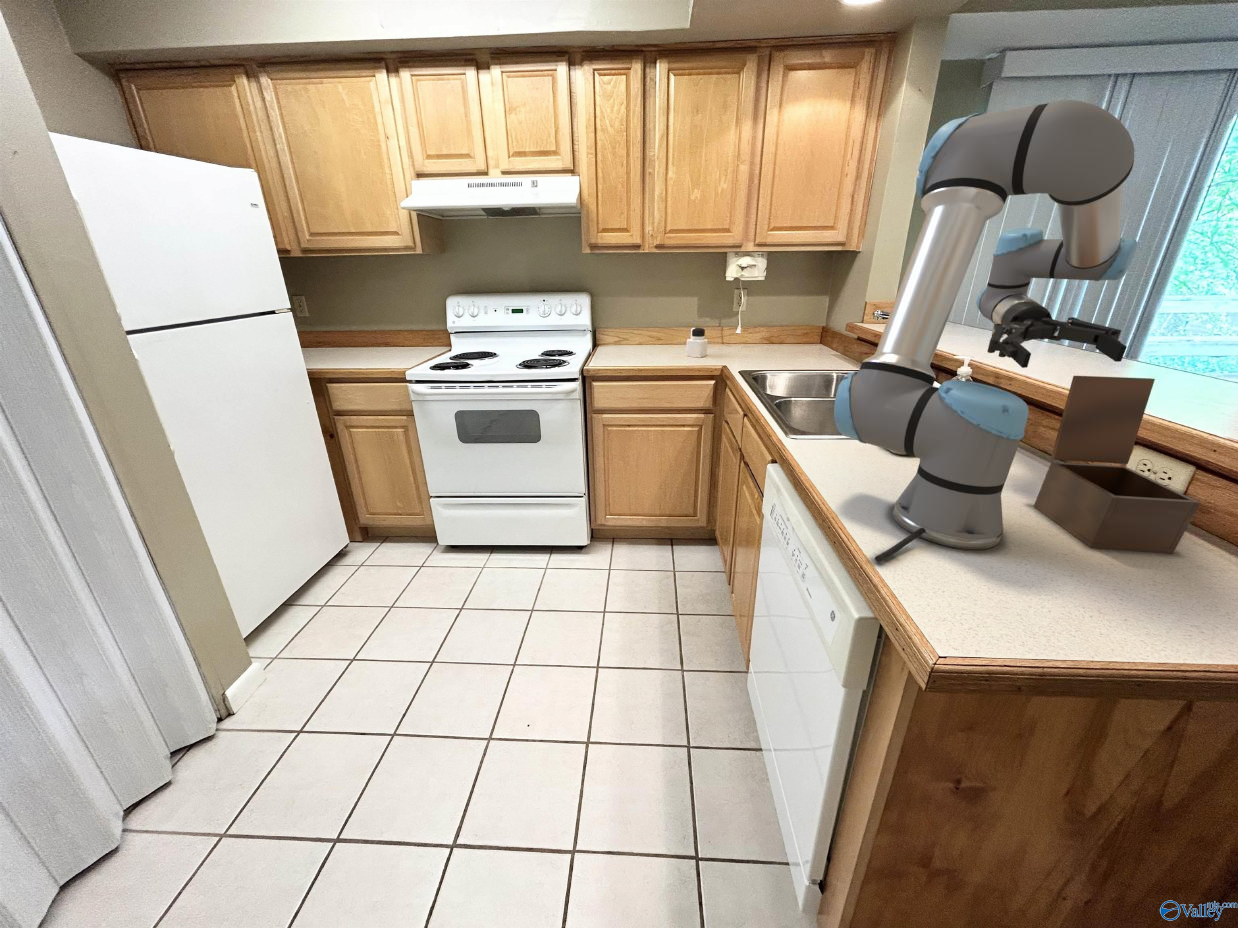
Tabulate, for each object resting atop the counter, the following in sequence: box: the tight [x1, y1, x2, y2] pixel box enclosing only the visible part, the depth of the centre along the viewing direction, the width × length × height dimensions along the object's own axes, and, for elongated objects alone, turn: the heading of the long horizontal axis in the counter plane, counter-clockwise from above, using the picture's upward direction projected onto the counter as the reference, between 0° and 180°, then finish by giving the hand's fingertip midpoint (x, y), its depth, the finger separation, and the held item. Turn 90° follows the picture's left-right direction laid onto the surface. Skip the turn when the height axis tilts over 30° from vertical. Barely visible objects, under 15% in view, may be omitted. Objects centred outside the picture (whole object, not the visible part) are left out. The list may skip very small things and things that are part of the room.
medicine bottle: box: [685, 327, 709, 359], centre depth 214 cm, size 7×7×12 cm
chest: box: [1033, 461, 1202, 554], centre depth 80 cm, size 14×12×9 cm
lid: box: [1050, 375, 1155, 465], centre depth 82 cm, size 14×12×1 cm
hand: (1073, 357), depth 86 cm, fingers open, 13 cm apart
